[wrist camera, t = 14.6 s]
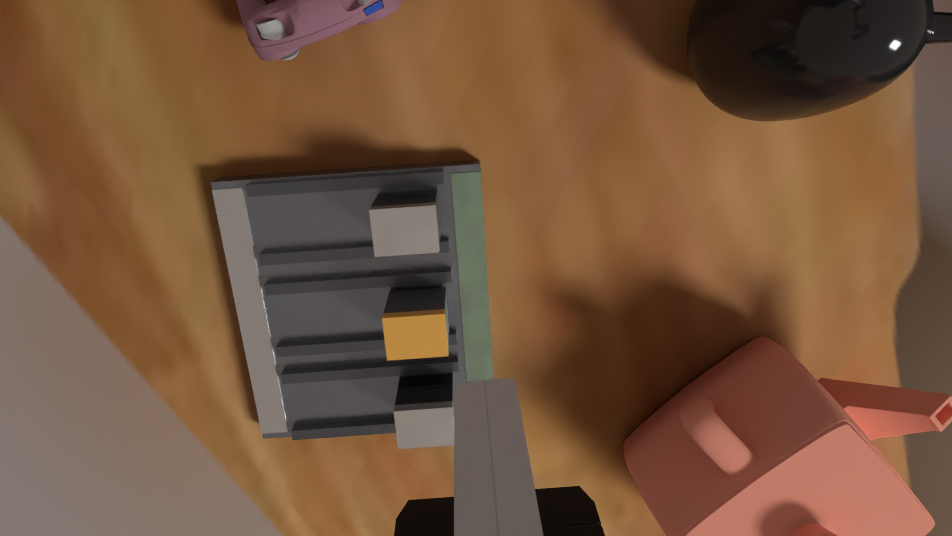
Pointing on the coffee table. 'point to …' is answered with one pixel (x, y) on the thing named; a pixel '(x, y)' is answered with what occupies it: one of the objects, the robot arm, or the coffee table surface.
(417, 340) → the breaker
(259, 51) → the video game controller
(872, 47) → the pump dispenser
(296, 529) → the coffee table surface
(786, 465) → the teapot
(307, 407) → the panel
